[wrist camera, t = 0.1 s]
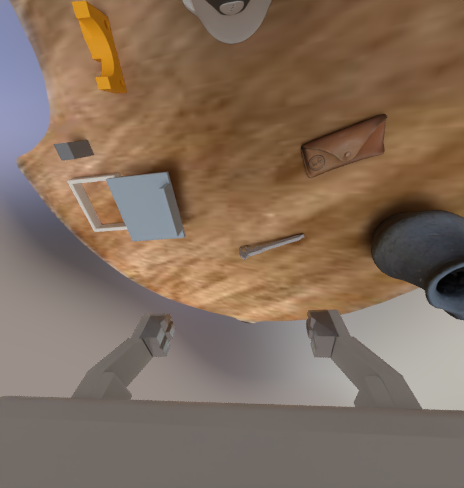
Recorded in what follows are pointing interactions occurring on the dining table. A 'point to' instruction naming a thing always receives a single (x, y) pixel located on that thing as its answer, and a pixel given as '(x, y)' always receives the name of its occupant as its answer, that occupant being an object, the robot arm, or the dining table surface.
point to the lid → (147, 206)
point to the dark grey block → (74, 150)
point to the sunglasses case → (345, 146)
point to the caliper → (268, 246)
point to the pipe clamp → (100, 46)
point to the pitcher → (425, 255)
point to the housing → (87, 205)
